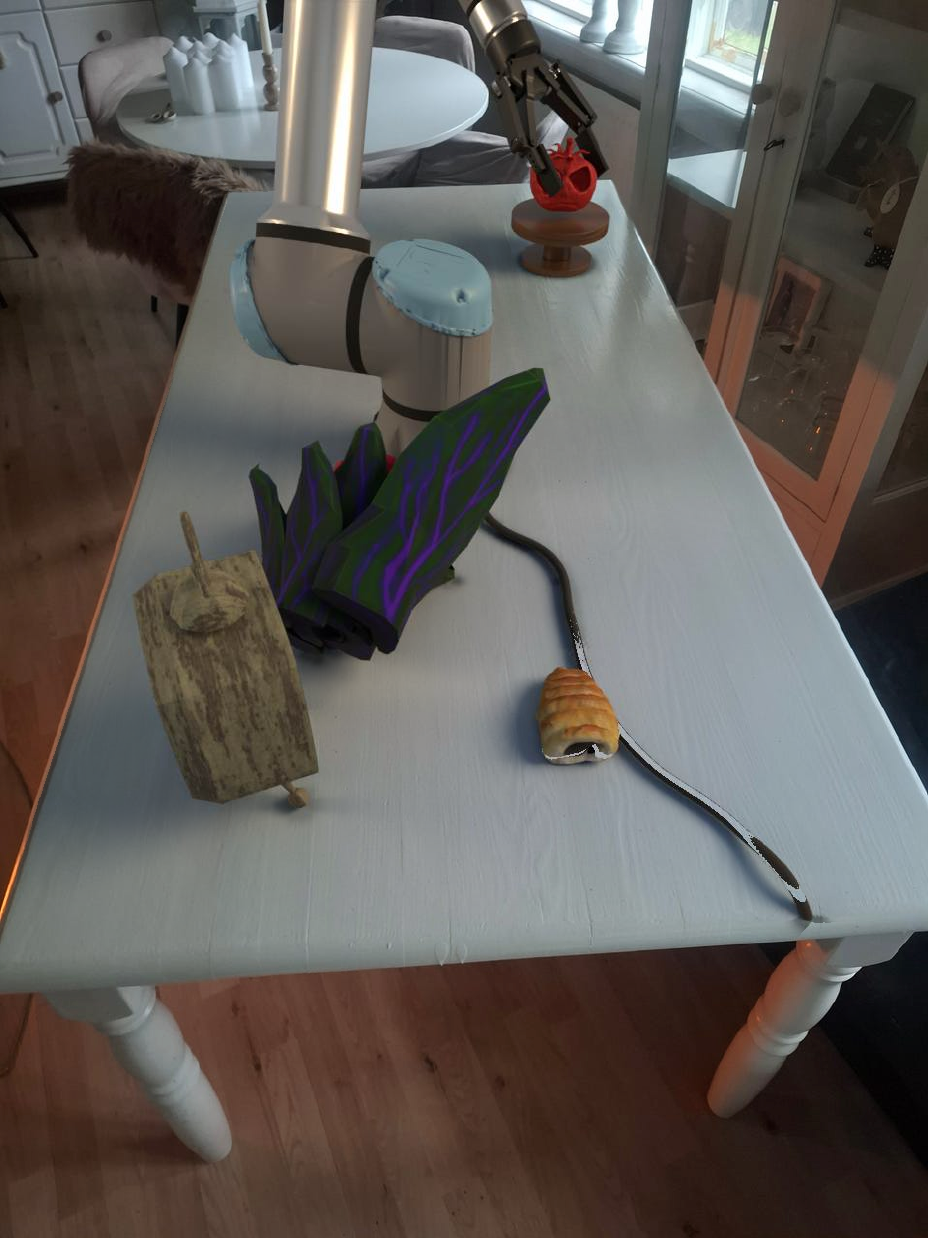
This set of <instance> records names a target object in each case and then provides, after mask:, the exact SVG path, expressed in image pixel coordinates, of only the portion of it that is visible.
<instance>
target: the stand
mask: <svg viewBox="0 0 928 1238" xmlns="http://www.w3.org/2000/svg"><path fill="white" fill-rule="evenodd" d="M510 217H511V218H510V219H511V220H510V221H511V222H510V227H511V230H512V231H513V233H514V234H515V235H517V236H518V237H520V238H521V239H523V240H525V241H528V242H531V243H533V244H530V245H529V246H527V247H525V248H524V249H523V251H522V253H521V263H522V265H523V266H524V267H525V269H527V270H528V271H530V272H532V273H534V274H536V275H541V276H543V277H550V278H551V277H552V278H567V277H568V278H569V277H575V276H578V275H581V274H584V273H585V272H587V271H588V270H589V269H590V267H591V266H592V260H593V257H592V254H591V252H590V251H589V250H588V249H586V248H585V247H584V246H587V245H590V244H591V245H592V244H595V243H597V242H599V241H600V240H602V239H604V238H605V237H606V236H607V235H608V233H609V227H610V220H611V216H610V213H609V211H608V210H607V209H606V208H605V207H604V206H601V204H598V203H595V202H593V201H592V200H591V201H590V202H589V203H588V204H587V205H586V206H585V207H584V208H582V209H579V210H577V211H573V212H561V211H558V212H557V211H549V210H546V209H544V208H542V207H541V206H540V205H539V204H538V203H537V201H536V200H535V198H534V197H533V198H528V199H525V200H523V201H521V202H519V203H517V204H516V205H515V206H514V207H513V208H512V210H511V216H510Z"/></svg>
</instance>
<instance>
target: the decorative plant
mask: <svg viewBox="0 0 928 1238" xmlns="http://www.w3.org/2000/svg"><path fill="white" fill-rule="evenodd" d="M550 401H552V400H551V395H550V391H549V387H548V382H547V379H546V375H545V370H544V368H543V367H532V368H529V369H526V370H524V371H520V372H517V373H515V374H512V375H509V376H506V377H503V378H502V379H499V380H498V381H496V382H494V383H493V384H491V385H489V387H487V388H485V389H484V390H482V391H480V392H478V393H476V394H475V395H473V396H471V397H469V398H467V399H465V400H464V401H462V402H460V403H458V404H456V405H454V406H453V407H451V408H449V409H447V410H445V411H443V412H442V413H440V414H438V415H436V416H435V417H434V418H433V419H432V420H431V421H430V422H429V423H428V424H427V425H426V427H425V428H424V429H423V430H422V431H421V432H420V433H419V434H418V435H417V436H416V438H415V439H414V440H413V441H412V442H411V443H410V444H409V445H408V446H407V447H406V449H405V450H404V451H403V452H402V453H401V454H400V455H399V457H398V459H397V461H396V459H395V458H394V457H393V456H391V455H388V454H386V450H385V446H384V441H383V437H382V434H381V431H380V429H379V428H378V426H377V424H376V421H375V422H373V421H371V422H369V423H365V424H362V425H360V426H359V427H357V429H356V430H355V431H354V434H353V437H352V439H351V442H350V444H349V445H348V446H349V447H348V449H347V451H346V453H345V456H344V459H341V460H339V461H337V462H336V464H335V466H334V468H333V465H332V463H331V461H330V460H329V458H328V457H327V455H326V453H325V451H324V450H323V448H322V446H321V443H320V441H319V440H318V439H317V440H315V441H314V442H312V443H309V444H308V445H306V446H304V447H302V448H301V469H300V473H299V477H298V479H297V481H298V482H297V484H296V490H295V493H294V495H293V497H292V499H291V502H290V504H289V506H288V509H287V511H286V512H285V509H284V508H283V505H282V503H281V500H280V498H279V492H278V485H276V483H275V482H274V480H273V479H272V478H271V476H270V475H269V474H268V473H266V472H265V471H264V470H262V469H261V468H260V467H259V466H260V463H261V462H259V463H258V464H256V465H255V466H254V467H253V468H251V469H250V471H249V474H248V480H249V483H250V486H251V489H252V494H253V499H254V503H255V507H256V513H257V518H258V526H259V533H260V541H261V543H260V544H261V565H262V567H263V570H264V572H265V575H266V578H267V580H268V583H269V586H270V588H271V591H272V594H273V596H274V599H275V602H276V605H277V608H278V610H279V613H280V616H281V619H282V622H283V625H284V627H285V630H286V633H287V636H288V639H289V642H290V645H291V647H293V648H295V649H297V650H299V651H301V652H303V653H306V654H307V653H308V654H313V655H317V656H318V655H323V652H324V650H325V649H326V650H338V651H340V652H342V653H344V654H346V655H349V656H351V657H353V658H355V659H358V660H360V661H364V662H365V661H368V662H370V661H371V659H372V657H373V654H374V653H375V650H376V649H377V650H378V652H380V653H382V654H383V655H389V654H391V653H393V652H394V651H396V649H397V647H398V645H399V642H400V639H401V637H402V635H403V633H404V631H405V628H406V625H407V624H408V621H409V619H410V615H411V614H412V611H413V610H414V608H416V606H417V605H418V604H420V602H421V601H422V600H423V599H424V598H425V597H426V596H427V595H428V594H429V593H430V592H431V591H432V590H434V589H436V588H438V587H440V586H441V585H443V584H445V583H446V582H449V581H453V580H455V578H456V575H455V574H456V573H455V572H456V569H455V567H454V565H453V564H454V562H456V560H457V559H458V558H459V557H460V556H461V554H463V552H464V551H465V549H466V548H468V546H469V544H470V542H471V541H472V540H473V538H474V536H475V535H476V533H477V532H478V530H479V528H480V527H481V525H482V523H483V522H484V521H485V520H484V519H485V517H486V515H487V514H488V512H490V511H491V509H492V508H493V506H494V504H495V503H496V501H497V500H498V499H499V497H500V495H501V494H500V493H501V491H502V489H503V486H504V483H505V481H506V479H507V476H508V472H509V470H510V468H511V465H512V463H513V460H514V458H515V454H516V452H517V451H518V450H519V448H520V447H521V445H522V443H523V442H524V440H525V439H526V438H527V436H528V434H529V433H530V431H532V428H533V427H534V425H535V424H536V422H537V421H538V419H539V418H540V416H541V415H542V414H543V412H544V411H545V409H546V407H547V406H548V405H549V404H550Z"/></svg>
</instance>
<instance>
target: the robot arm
mask: <svg viewBox="0 0 928 1238" xmlns="http://www.w3.org/2000/svg"><path fill="white" fill-rule="evenodd" d="M457 1H458V2H459V5H460V6H461V8H462V10H463V12H464V14H465V16H466V18H467V20H468V22H469V24H470V26H471V28H472V30H473V32H474V34H475V36H476V38H477V40H478V42H479V44H480V47H482V49H483V50H485V57H486V59H487V61H488V63H489V65H490V67H491V69H492V71H493V74H494V75H495V76H496V77H495V79H494V80H493V81H492V82H491V84H490V85H489V86H488V91H489V93H490V95H491V96H492V98H493V100H494V101H495V104H496V107H497V111H498V114H499V117H500V121H501V125H502V127H503V130H504V134H505V138H506V141H507V144H508V148H509V150H510V152H511V154H513V155H516V154H517V155H518V157H519V159H520V158H521V159H524V158H525V157H526V159H527V161H528V163H529V165H530V168H531V167H532V168H533V171H534V172H535V173H536V175H538V176H539V178H540V180H541V182H542V184H543V186H544V188H545V190H546V192H547V194H548V196H549V198H551V197H553V196H554V195H555V194H556V193H558V192H559V191H560V190H561V189H562V188H563V187H564V185H563V183H562V181H561V179H560V177H559V175H558V173H557V171H556V169H555V167H554V165H553V163H552V161H551V159H550V157H549V155H548V154H549V152H548V151H546V150H547V148H546V147H545V145H544V142H541V143H539V144H538V137H537V127H536V117H535V109H534V102H540V103H541V105H543V106H548V108H550V109H551V110H552V111H553V112H554V113H555V115H557V117H559V118H560V119H561V121H563V122H564V123H565V125H566V126H568V128H569V129H570V130H571V131H572V132H573V133H574V134H575V135H577V136H576V137H575V138H574V142H575V143H576V144H577V143H578V144H577V146H576V147H578V151H579V150H584V151H586V152H590V153H589V154H585V153H580V155H581V157H582V158H584V159H585V160H586V161H588V162H590V163H591V164H592V165H593V167H594V168H595V170H596V173H597V180H599V178H601V177H602V176H603V175H604V174H605V173H606V172H607V171H609V170H610V167H609V165H608V163H607V161H606V159H605V157H604V155H603V152H602V151H601V147H600V143H599V141H598V139H597V137H596V135H595V133H594V130H593V129H592V126H593V125H594V124H595V122H596V121H597V119H598V115H597V113H596V111H595V110H594V109H593V107H592V106H591V104H590V103H589V101H588V100H587V99H586V97H585V96H584V94H583V93H582V92H581V90H580V89H579V87H578V86H577V85H576V83H575V82H574V80H573V78H572V77H571V76H570V75H569V72H568V71H567V68H566V66H565V64H564V62H563V60H562V59H561V58H557V59H556V60H555V61H554V62H553V63H548V62H547V61H546V60H545V59H544V58H543V56H542V54H541V49H542V41H541V38H540V37H539V35H538V33H537V30H536V28H535V26H534V24H533V23H532V21H531V20H530V19H528V18H529V15H528V11H527V9H526V7H525V5H524V3H523V2H522V0H457ZM283 3H284V4H283V24H282V38H281V40H282V41H281V54H280V55H281V56H280V72H279V73H280V75H279V91H278V109H277V124H276V125H277V127H276V128H277V129H276V143H275V144H276V146H275V162H274V179H273V197H272V204H271V206H270V208H268V209H267V210H266V211H264V213H263V214H262V215H261V216H259V217H258V218H257V219H256V222H255V223H256V225H255V238H252V239H249V240H248V241H244V242H243V243H242V244H240V245H239V246H238V247H237V249H236V251H235V252H234V258H235V259H233V260H232V261H231V266H230V272H229V294H230V303H231V309H232V313H233V318H234V321H235V324H236V327H237V329H238V331H239V333H240V334H241V337H242V339H243V341H244V342H245V344H246V345H247V346H248V348H250V349H251V351H253V352H254V353H255V354H256V355H257V356H259V357H262V358H265V359H269V360H273V361H280V362H283V363H285V364H287V365H289V366H307V367H314V368H319V369H328V370H332V371H341V372H344V373H345V372H346V373H353V374H359V375H366V376H373V377H378V378H380V382H381V394H382V395H381V397H382V399H381V404H380V407H379V410H378V411H377V412H376V413H375V414H374V416H373V420H372V422H375V423H376V424H377V426H378V428H379V429H380V431H381V434H382V437H383V441H384V446H385V450H386V454H388V455H391V456H393V457H394V458H395V459H396V461H397V459H398V457H399V455H400V454H401V453H402V452H403V451H404V450H405V449H406V447H407V446H408V445H409V444H410V443H411V442H412V441H413V440H414V439H415V438H416V436H417V435H418V434H419V433H420V432H421V431H422V430H423V429H424V428H425V427H426V425H427V424H428V423H429V422H430V421H431V420H432V419H433V418H434V417H435V416H436V415H438V414H440V413H442V412H443V411H445V410H447V409H449V408H451V407H453V406H454V405H456V404H458V403H460V402H462V401H464V400H465V399H467V398H469V397H471V396H473V395H475V394H476V393H478V392H480V391H482V390H484V389H485V388H487V387H489V386H490V372H491V370H490V369H491V349H492V348H491V347H492V329H493V328H492V327H493V324H494V318H495V317H494V310H493V299H492V297H493V295H492V292H493V291H492V281H491V277H490V275H489V272H488V271H487V269H486V267H485V266H484V265H483V264H482V263H480V261H479V260H478V259H477V258H476V257H475V256H474V255H472V254H471V253H469V252H468V251H466V250H464V249H462V248H461V247H458V246H456V245H453V244H450V243H447V242H442V241H438V240H434V239H428V238H427V239H426V238H413V239H412V240H411V241H408V240H406V239H399V240H394V241H392V242H389V243H387V244H385V245H383V246H381V247H380V248H379V250H377V252H376V254H375V256H372V255H371V245H372V244H371V243H372V237H371V236H370V234H369V233H368V232H367V230H366V229H365V228H364V226H363V225H362V223H361V222H360V219H359V209H360V200H361V190H362V189H361V188H362V187H361V186H362V178H363V177H362V175H363V164H364V162H363V161H364V153H365V152H364V151H365V141H366V129H367V120H368V119H367V118H368V106H369V93H370V84H371V83H370V82H371V70H372V61H373V49H374V48H373V46H374V36H375V35H374V34H375V24H376V13H377V0H284V2H283ZM576 144H575V145H576ZM483 521H485V523H487V525H488V526H490V527H491V528H492V529H493V530H495V532H497V533H499V534H500V535H502V536H504V537H505V538H507V539H510V540H512V541H514V542H516V543H518V544H520V545H523V546H525V547H527V548H528V549H529V548H530V549H531V550H533V551H535V552H537V553H538V554H540V555H541V556H543V557H544V558H545V559H546V560H547V561H548V563H550V564H551V566H552V567H553V570H555V572H556V574H557V576H558V579H559V582H560V583H559V584H560V587H561V594H562V595H561V596H562V603H563V610H564V615H565V619H566V623H567V626H568V630H569V635H570V638H571V643H572V649H573V652H574V658H575V661H576V665H577V668H578V669H579V670H582V667H581V664H580V660H579V657H578V653H577V649H576V644H575V640H576V641H577V643H579V638H580V640H581V643H580V645H581V644H582V648H583V653H584V656H585V660H586V663H587V666H588V669H589V672H590V674H591V676H592V679H593V680H594V682H595V683H596V680H595V678H594V677H593V674H592V671H591V669H590V667H589V664H588V659H587V657H586V652H585V649H584V643H583V640H582V635H581V631H580V627H579V623H578V620H577V616H576V613H575V608H574V603H573V594H572V588H571V582H570V578H569V575H568V572H567V570H566V568H565V566H564V565H563V563H562V561H561V560H560V558H559V557H558V556H557V555H556V554H555V553H554V552H553V551H551V550H550V549H549V548H548V547H546V546H545V545H543V544H542V543H541V542H538V541H536V540H534V539H533V538H530V537H527V536H526V535H523V534H521V533H519V532H517V531H514V530H512V529H510V528H508V527H507V526H506V525H503V524H502V523H501V522H499V520H498V519H496V518H495V517H494V516H493V515H492V513H491V512H490V511H489V512H488V514H487V515H486V517H485V519H484V520H483ZM573 612H574V613H573ZM570 620H571V621H570ZM576 623H577V624H576ZM571 626H572V627H571ZM578 631H579V635H580V636H579V635H578ZM573 633H574V635H575V636H576V637H575V636H574V635H573ZM577 636H578V638H577ZM574 639H575V640H574ZM579 648H580V646H579ZM582 661H583V660H582ZM582 671H583V670H582ZM617 721H618V723H619V724H620V725H621V726H622V724H621V723H620V722H619V720H618V719H617ZM622 728H623V729H624V730H625V731H626V733H627V734H628V735H629V736H630V737H631V738H632V739H633V737H632V736H631V735H630V733H628V732H627V730H626V729H625V728H624V727H623V726H622ZM618 741H620V742H621V744H622V745H623V746H624V747H625V748H626V749H627V751H629V752H630V753H631V755H632V756H633V757H634V758H635V759H636V760H637V761H638V762H639V763H640V764H641V765H643V766H644V768H645V769H646V770H648V771H649V772H650V773H651V774H653V775H654V776H655V777H656V778H658V779H659V780H660V781H661V782H663V783H665V785H667V786H669V787H670V788H672V789H673V790H674V791H676V792H677V793H679V794H681V795H682V796H684V797H685V798H687V799H688V800H690V801H692V802H694V803H695V804H696V805H698V806H699V807H701V808H702V809H703V810H705V811H706V812H707V813H709V814H710V815H712V816H713V817H714V818H715V819H717V820H718V821H719V822H720V823H721V824H722V825H724V826H725V827H726V828H727V829H728V830H729V831H731V832H732V833H733V834H734V835H735V836H736V837H737V838H738V839H740V840H741V841H742V842H743V843H744V844H745V845H746V846H747V847H749V848H750V849H751V850H752V851H754V853H756V854H757V855H758V856H759V854H758V853H757V852H756V851H755V850H754V849H753V848H752V847H751V846H750V845H749V844H748V842H747V841H746V840H745V839H744V838H743V836H742V835H741V834H740V833H739V832H738V831H737V830H736V829H735V828H734V827H733V826H732V825H731V824H730V823H729V822H728V821H727V820H726V819H725V818H724V817H723V816H721V815H720V814H719V813H718V812H716V811H715V810H714V809H712V808H711V807H710V806H708V805H707V804H705V803H704V802H703V801H701V800H700V799H698V798H697V797H695V796H693V795H692V794H690V793H689V792H687V791H686V790H684V789H683V788H681V787H679V786H678V785H676V784H675V783H673V782H672V781H670V780H669V779H668V778H666V777H665V776H663V775H662V774H661V773H659V772H658V771H657V770H655V769H654V768H653V767H652V766H651V765H650V764H648V763H647V762H646V761H645V760H644V759H643V758H642V757H641V756H640V755H639V754H638V753H637V752H636V751H635V750H634V749H633V748H632V747H631V746H630V745H629V743H628V742H627V741H626V740H625V739H624V738H623V737H622V736H621V734H620V735H619V739H618ZM635 743H636V744H637V745H638V746H639V747H640V748H641V749H642V750H643V751H644V752H645V753H646V754H647V755H648V756H649V757H650V758H652V757H651V756H650V755H649V754H648V753H647V752H646V751H645V750H644V749H643V748H642V746H640V745H639V744H638V743H637V742H636V741H635ZM654 761H655V762H656V763H657V764H658V765H660V764H659V763H658V762H657V761H656V760H654ZM661 767H662V768H663V769H665V768H664V767H663V766H661ZM665 770H666V771H667V772H669V771H668V770H667V769H665ZM669 773H670V774H672V773H671V772H669ZM672 775H673V776H675V775H674V774H672ZM675 777H676V778H678V777H677V776H675ZM678 779H679V780H681V779H680V778H678ZM681 781H682V782H684V781H683V780H681ZM684 783H685V784H687V783H686V782H684ZM687 785H688V786H690V787H692V786H691V785H689V784H687ZM692 788H693V789H695V788H694V787H692ZM695 790H696V791H698V790H697V789H695ZM698 792H699V793H701V794H703V793H702V792H700V791H698ZM703 795H704V796H705V797H707V798H708V799H710V800H711V801H713V800H712V799H711V798H709V797H708V796H707V795H705V794H703ZM713 802H714V803H715V804H717V803H716V802H715V801H713ZM717 805H718V806H719V807H721V806H720V805H719V804H717ZM721 808H722V807H721ZM722 809H723V810H725V809H724V808H722ZM726 812H727V813H728V814H729V815H730V816H732V814H730V813H729V812H728V811H726ZM733 818H734V819H735V820H736V821H737V822H739V821H738V820H737V819H736V818H735V817H733ZM741 825H742V826H743V827H745V826H744V825H743V824H741ZM748 831H749V832H751V831H750V830H748ZM749 836H750V835H749ZM751 837H752V836H751ZM755 837H756V836H755ZM755 837H753V838H750V839H751V840H752V841H751V842H752V843H753V842H754V843H753V845H754V846H756V850H759V853H760V854H762V857H764V858H765V860H767V862H768V863H769V864H770V865H771V866H772V868H774V869H775V871H776V872H777V873H778V874H779V876H781V878H782V879H783V880H784V881H785V882H787V884H788V885H791V886H792V887H794V888H795V889H799V885H800V883H799V881H798V880H797V878H796V877H795V875H794V873H792V871H791V870H790V869H789V867H788V866H787V864H785V863H784V861H783V860H782V859H781V858H780V857H779V856H778V855H777V854H776V853H775V852H774V851H773V850H771V849H770V848H769V846H767V845H766V844H765V843H764V842H762V841H761V840H760V839H759V838H758V837H757V838H758V839H759V840H758V839H757V838H755ZM763 843H764V844H765V845H764V844H763ZM772 868H771V869H772ZM775 871H774V872H775ZM776 872H775V873H776ZM779 876H778V877H779ZM797 881H798V882H797ZM798 883H799V884H798ZM797 887H798V888H797ZM787 891H788V893H789V894H790V896H791V898H792V900H793V903H794V905H795V907H796V909H797V912H798V915H799V916H800V917H801V919H803V920H804V921H806V922H811V921H812V920H813V911H812V909H811V905H810V903H809V901H808V898H807V896H806V895H805V897H806V901H805V902H800V901H799V900H797V899H796V898H795V897H793V895H792V894H791V893H790V891H789V890H788V889H787Z"/></svg>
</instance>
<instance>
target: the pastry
mask: <svg viewBox="0 0 928 1238" xmlns="http://www.w3.org/2000/svg"><path fill="white" fill-rule="evenodd" d="M593 679H594V678H593ZM593 679H592V678H591V677H590V676H589V675H588V673H587V672H585V671H582V670H579V668H578V669H577V668H566V667H562V666H558V667H556V668H555V669H554V670H552V672H549V674H548V675H546V677H545V680H544V681H543V682H544V683H543V685H542V687H541V692H540V693H539V699H538V700H539V701H538V705H539V704H540V705H539V706H538V708H537V710H536V712H535V718H536V720H538V721H537V722H538V726H539V727H538V728H539V731H540V743H541V746H542V745H543V750H542V749H541V752H542V751H543V753H544V754H545V755H547V756H549V757H562V756H566V755H570V754H574V753H579V752H581V751H583V750H585V749H586V750H585V751H584V752H583V753H581V754H579V755H575V756H569V757H563V758H557V759H552V760H551V759H548V758H546V757H544V755H543V754H542V756H543V757H544V758H545V759H546V760H547V761H549V762H550V763H551V764H554V765H573V764H577V763H582V762H585V761H588V762H595V763H597V762H605V761H607V760H609V759H610V758H608V759H603V758H598V757H596V756H595V750H594V748H593V747H592V745H594V744H596V746H597V747H598V749H599V752H603V753H604V754H606V755H610V754H613V753H615V754H616V752H617V750H618V749H619V729H618V722H619V721H618V722H617V720H618V718H617V717H616V715H615V711H614V708H613V706H612V704H611V702H610V699H609V698H608V697H607V696H606V695H605V693H604V691H603V689H602V688H600V687H599V685H598V684H597V683H596V681H595V679H594V680H593ZM594 681H595V682H594Z"/></svg>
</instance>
